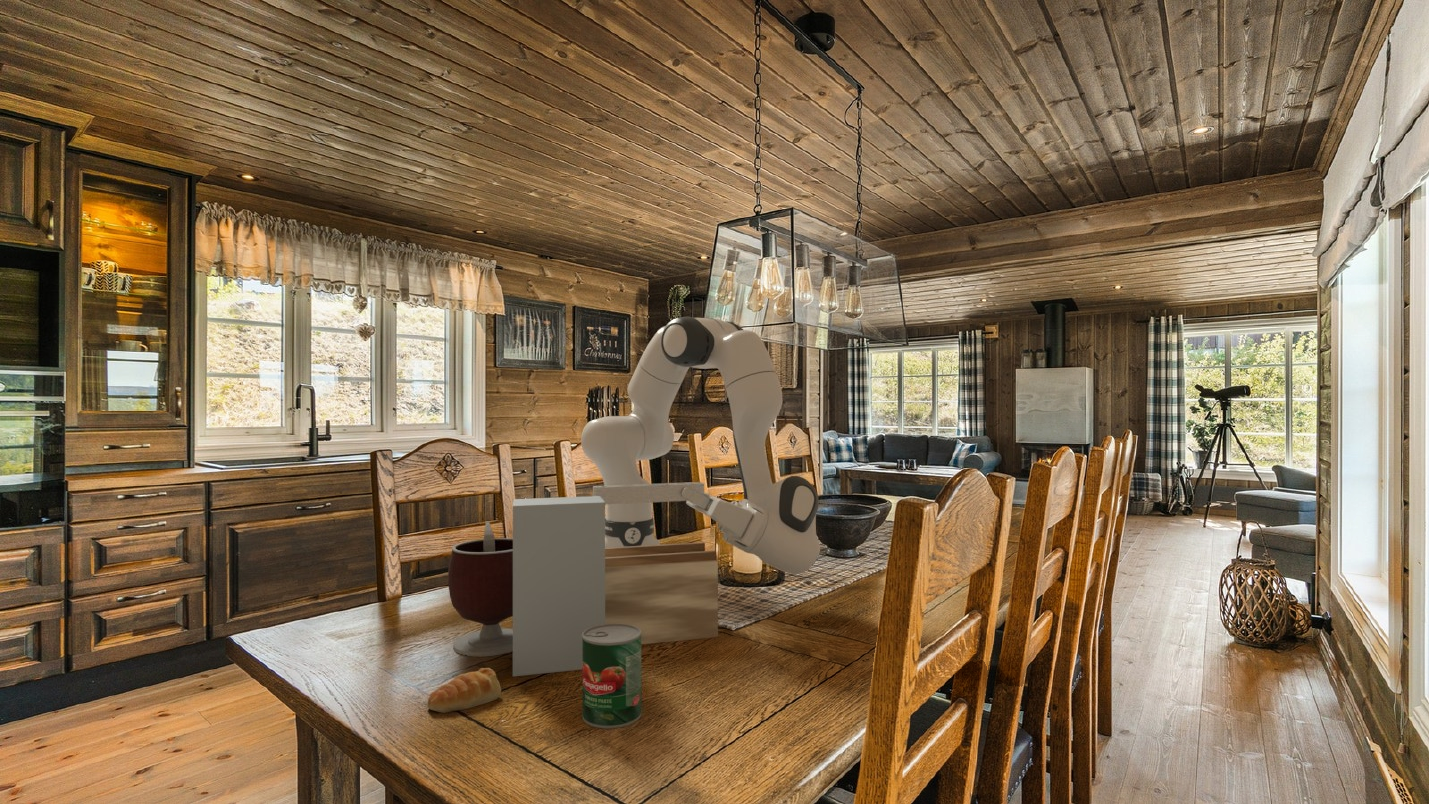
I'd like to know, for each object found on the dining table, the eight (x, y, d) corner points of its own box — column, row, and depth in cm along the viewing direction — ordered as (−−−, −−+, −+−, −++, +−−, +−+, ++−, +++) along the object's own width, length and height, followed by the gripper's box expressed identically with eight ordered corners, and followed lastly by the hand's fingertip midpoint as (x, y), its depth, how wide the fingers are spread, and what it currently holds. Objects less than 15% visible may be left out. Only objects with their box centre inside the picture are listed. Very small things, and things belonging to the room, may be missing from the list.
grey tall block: (513, 658, 111) (513, 499, 111) (599, 649, 114) (599, 496, 115) (512, 676, 103) (512, 506, 103) (605, 667, 107) (605, 502, 107)
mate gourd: (537, 651, 114) (537, 532, 114) (449, 663, 108) (449, 538, 109) (525, 624, 128) (525, 518, 128) (447, 633, 123) (447, 523, 123)
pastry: (441, 722, 89) (441, 692, 89) (418, 707, 93) (418, 679, 93) (505, 699, 96) (505, 671, 96) (480, 686, 100) (480, 660, 100)
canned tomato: (644, 702, 94) (644, 622, 94) (639, 728, 86) (639, 642, 86) (587, 702, 94) (587, 623, 94) (576, 729, 86) (576, 643, 86)
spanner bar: (592, 502, 122) (592, 486, 122) (700, 497, 127) (700, 482, 127) (594, 504, 119) (594, 487, 119) (704, 499, 124) (704, 483, 124)
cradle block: (582, 629, 125) (582, 548, 125) (702, 618, 131) (702, 541, 131) (587, 649, 114) (587, 561, 114) (717, 637, 121) (717, 552, 121)
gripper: (733, 501, 138) (675, 469, 135) (768, 516, 118) (701, 479, 115) (718, 529, 137) (660, 497, 134) (751, 548, 117) (684, 512, 114)
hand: (679, 489), depth 124 cm, fingers closed on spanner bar, 3 cm apart
